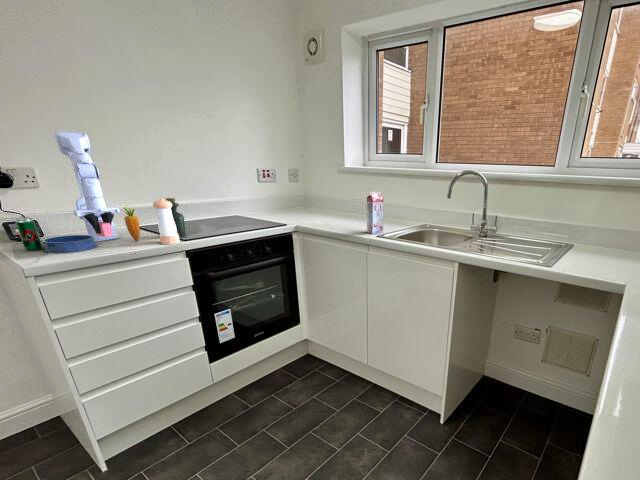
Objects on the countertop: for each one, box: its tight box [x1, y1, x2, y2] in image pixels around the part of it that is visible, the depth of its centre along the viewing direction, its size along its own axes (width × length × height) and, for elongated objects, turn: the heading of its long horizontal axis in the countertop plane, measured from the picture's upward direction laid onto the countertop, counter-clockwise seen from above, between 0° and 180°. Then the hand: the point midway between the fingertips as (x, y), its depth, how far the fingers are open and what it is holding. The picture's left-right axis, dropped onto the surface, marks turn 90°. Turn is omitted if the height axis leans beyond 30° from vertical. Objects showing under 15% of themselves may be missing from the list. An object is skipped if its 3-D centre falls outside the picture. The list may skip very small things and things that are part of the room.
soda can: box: [15, 217, 44, 252], centre depth 136 cm, size 5×5×12 cm
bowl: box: [41, 234, 97, 254], centre depth 141 cm, size 15×15×4 cm
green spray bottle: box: [165, 197, 187, 239], centre depth 166 cm, size 8×8×18 cm
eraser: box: [95, 222, 113, 237], centre depth 139 cm, size 3×6×5 cm, turn 66°
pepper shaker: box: [152, 197, 181, 245], centre depth 154 cm, size 7×7×19 cm
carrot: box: [123, 206, 141, 242], centre depth 155 cm, size 5×5×15 cm
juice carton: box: [366, 191, 384, 235], centre depth 193 cm, size 7×7×22 cm
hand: (103, 232), depth 139 cm, fingers closed on eraser, 3 cm apart
